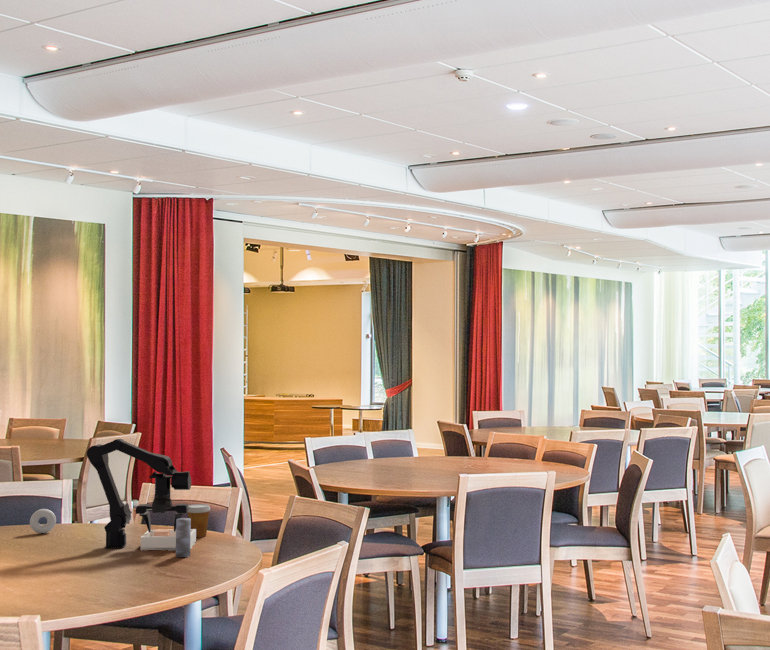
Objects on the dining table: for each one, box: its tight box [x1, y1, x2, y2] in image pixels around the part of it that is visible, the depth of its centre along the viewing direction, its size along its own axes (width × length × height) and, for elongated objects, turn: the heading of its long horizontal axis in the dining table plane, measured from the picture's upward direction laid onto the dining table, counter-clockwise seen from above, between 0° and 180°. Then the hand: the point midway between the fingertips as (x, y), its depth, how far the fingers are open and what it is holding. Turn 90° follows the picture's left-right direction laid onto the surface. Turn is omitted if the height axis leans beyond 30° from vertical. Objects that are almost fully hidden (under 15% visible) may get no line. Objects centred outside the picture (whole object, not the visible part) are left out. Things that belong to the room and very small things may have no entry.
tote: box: [140, 528, 197, 551], centre depth 317 cm, size 18×14×5 cm
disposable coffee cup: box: [187, 503, 212, 538], centre depth 336 cm, size 10×10×12 cm
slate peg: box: [175, 517, 191, 558], centre depth 300 cm, size 5×5×13 cm
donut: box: [29, 508, 57, 534], centre depth 343 cm, size 10×4×10 cm, turn 113°
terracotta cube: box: [154, 528, 171, 536], centre depth 316 cm, size 5×5×5 cm
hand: (162, 531), depth 317 cm, fingers open, 9 cm apart
